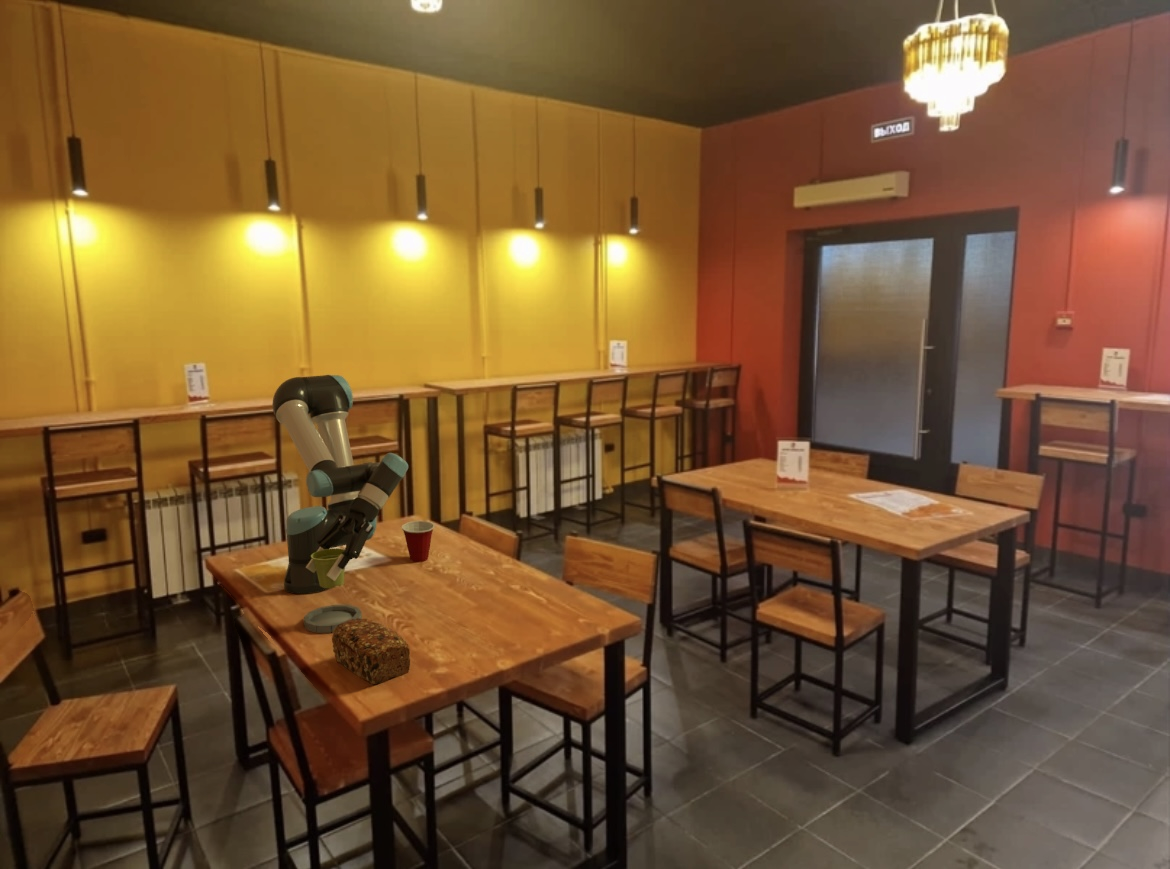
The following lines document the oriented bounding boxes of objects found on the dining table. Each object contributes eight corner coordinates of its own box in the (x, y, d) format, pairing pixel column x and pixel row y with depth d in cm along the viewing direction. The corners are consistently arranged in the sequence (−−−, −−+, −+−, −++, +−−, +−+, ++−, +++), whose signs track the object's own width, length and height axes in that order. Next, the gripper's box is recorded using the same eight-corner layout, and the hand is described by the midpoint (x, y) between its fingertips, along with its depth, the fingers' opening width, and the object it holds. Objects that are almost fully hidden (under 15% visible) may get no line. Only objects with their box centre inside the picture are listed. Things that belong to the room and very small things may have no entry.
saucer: (296, 633, 204) (296, 625, 204) (315, 611, 219) (315, 604, 218) (351, 632, 204) (351, 625, 204) (367, 611, 218) (366, 604, 218)
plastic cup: (408, 567, 255) (407, 531, 253) (398, 558, 265) (397, 523, 263) (440, 561, 261) (439, 526, 259) (429, 552, 270) (428, 519, 268)
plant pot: (308, 591, 205) (305, 559, 203) (319, 579, 214) (317, 548, 213) (343, 590, 205) (341, 559, 203) (354, 578, 214) (352, 547, 213)
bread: (332, 662, 188) (329, 622, 186) (372, 648, 195) (370, 610, 194) (371, 688, 175) (369, 646, 173) (413, 673, 182) (411, 632, 181)
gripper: (401, 517, 211) (353, 590, 202) (354, 505, 225) (307, 572, 216) (383, 502, 206) (333, 575, 197) (336, 490, 220) (288, 558, 211)
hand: (320, 574), depth 206 cm, fingers closed on plant pot, 9 cm apart
